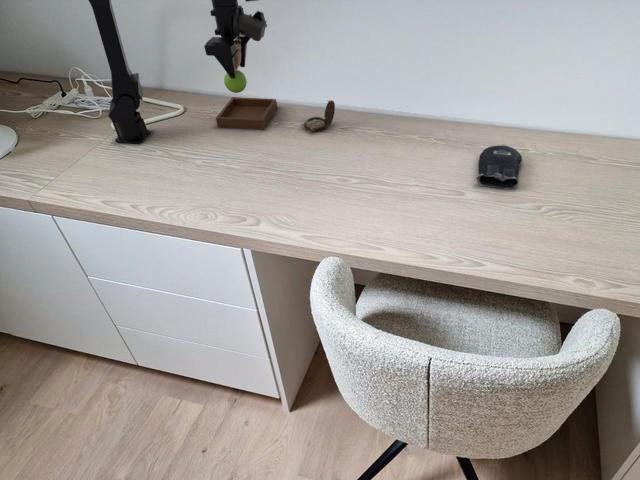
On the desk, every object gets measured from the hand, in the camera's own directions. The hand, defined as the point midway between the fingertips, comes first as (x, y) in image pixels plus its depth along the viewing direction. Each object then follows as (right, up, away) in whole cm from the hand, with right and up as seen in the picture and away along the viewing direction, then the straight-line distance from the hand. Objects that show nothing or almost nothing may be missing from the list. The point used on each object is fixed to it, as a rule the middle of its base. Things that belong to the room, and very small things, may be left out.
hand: (238, 72), depth 122 cm
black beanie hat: (+62, -27, -11) cm, 68 cm away
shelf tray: (0, -8, +10) cm, 13 cm away
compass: (+19, -13, +5) cm, 24 cm away
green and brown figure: (-1, -4, +3) cm, 5 cm away
